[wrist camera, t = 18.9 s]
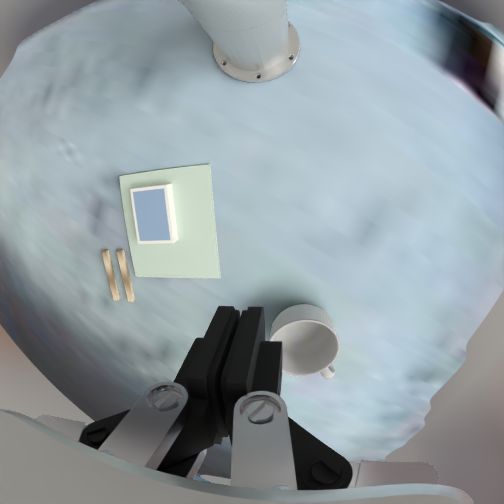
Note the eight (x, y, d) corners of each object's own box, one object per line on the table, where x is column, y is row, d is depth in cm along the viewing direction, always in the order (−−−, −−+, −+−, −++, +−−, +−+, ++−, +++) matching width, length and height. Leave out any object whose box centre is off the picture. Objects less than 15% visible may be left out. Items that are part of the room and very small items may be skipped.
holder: (104, 250, 48) (101, 251, 47) (123, 249, 47) (121, 251, 46) (116, 298, 51) (113, 300, 50) (135, 299, 50) (132, 301, 49)
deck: (171, 183, 41) (136, 187, 42) (166, 184, 40) (130, 189, 40) (178, 239, 44) (143, 240, 45) (173, 243, 42) (138, 244, 43)
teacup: (260, 310, 47) (254, 338, 40) (319, 284, 44) (324, 310, 37) (295, 365, 50) (294, 396, 43) (348, 345, 47) (355, 375, 40)
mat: (120, 176, 42) (119, 176, 42) (210, 164, 40) (209, 164, 40) (136, 275, 48) (135, 276, 48) (221, 277, 46) (220, 278, 46)
